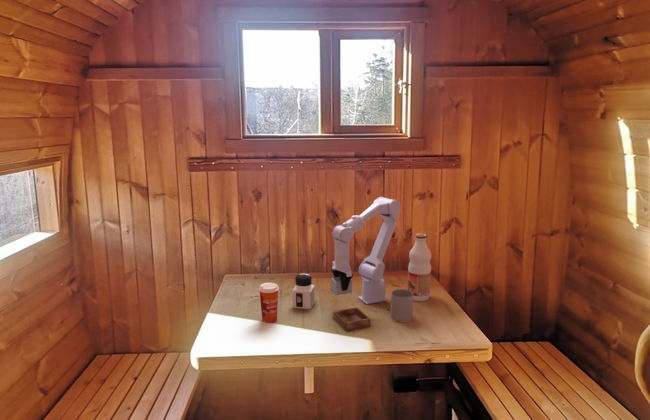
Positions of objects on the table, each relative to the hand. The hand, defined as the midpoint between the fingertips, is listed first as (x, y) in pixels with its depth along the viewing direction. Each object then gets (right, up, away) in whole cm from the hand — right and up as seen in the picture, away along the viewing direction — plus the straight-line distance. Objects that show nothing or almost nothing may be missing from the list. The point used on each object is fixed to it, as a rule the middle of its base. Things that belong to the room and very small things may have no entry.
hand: (341, 287), depth 201 cm
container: (-16, -8, +6) cm, 18 cm away
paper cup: (-28, -11, -8) cm, 31 cm away
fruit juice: (+33, -6, +13) cm, 36 cm away
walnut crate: (+3, -12, -10) cm, 16 cm away
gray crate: (0, -2, 0) cm, 2 cm away
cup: (+23, -11, -6) cm, 26 cm away
